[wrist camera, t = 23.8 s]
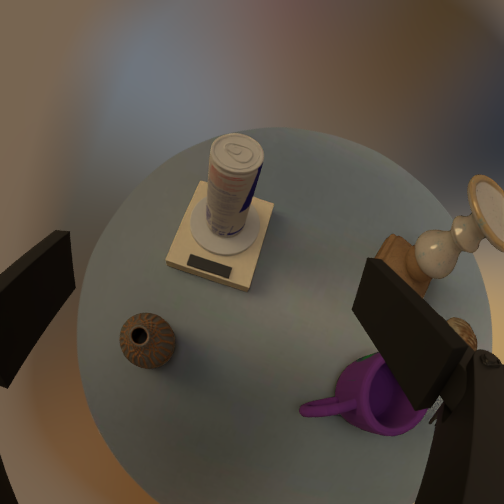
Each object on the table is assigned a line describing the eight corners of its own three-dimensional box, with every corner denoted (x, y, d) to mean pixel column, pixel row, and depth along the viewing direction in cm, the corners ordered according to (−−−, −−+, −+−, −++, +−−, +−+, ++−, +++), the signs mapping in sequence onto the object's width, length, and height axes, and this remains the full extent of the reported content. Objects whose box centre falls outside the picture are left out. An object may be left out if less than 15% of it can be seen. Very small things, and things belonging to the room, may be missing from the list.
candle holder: (406, 321, 45) (519, 273, 24) (360, 280, 47) (462, 206, 25) (428, 274, 50) (524, 214, 28) (387, 236, 51) (474, 156, 29)
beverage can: (246, 237, 43) (268, 173, 29) (206, 238, 42) (210, 172, 28) (243, 203, 45) (262, 132, 32) (205, 203, 44) (209, 131, 31)
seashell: (462, 341, 46) (442, 314, 47) (490, 334, 40) (470, 305, 41) (444, 381, 42) (422, 354, 43) (474, 378, 36) (453, 349, 37)
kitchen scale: (166, 265, 43) (164, 257, 40) (200, 188, 49) (200, 177, 46) (247, 292, 43) (250, 286, 41) (271, 210, 49) (275, 201, 46)
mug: (388, 348, 43) (428, 339, 34) (396, 416, 39) (437, 419, 30) (283, 369, 40) (306, 366, 31) (292, 445, 36) (318, 463, 26)
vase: (117, 344, 37) (97, 336, 29) (150, 308, 40) (137, 292, 32) (155, 379, 37) (142, 380, 29) (187, 342, 39) (184, 333, 31)
